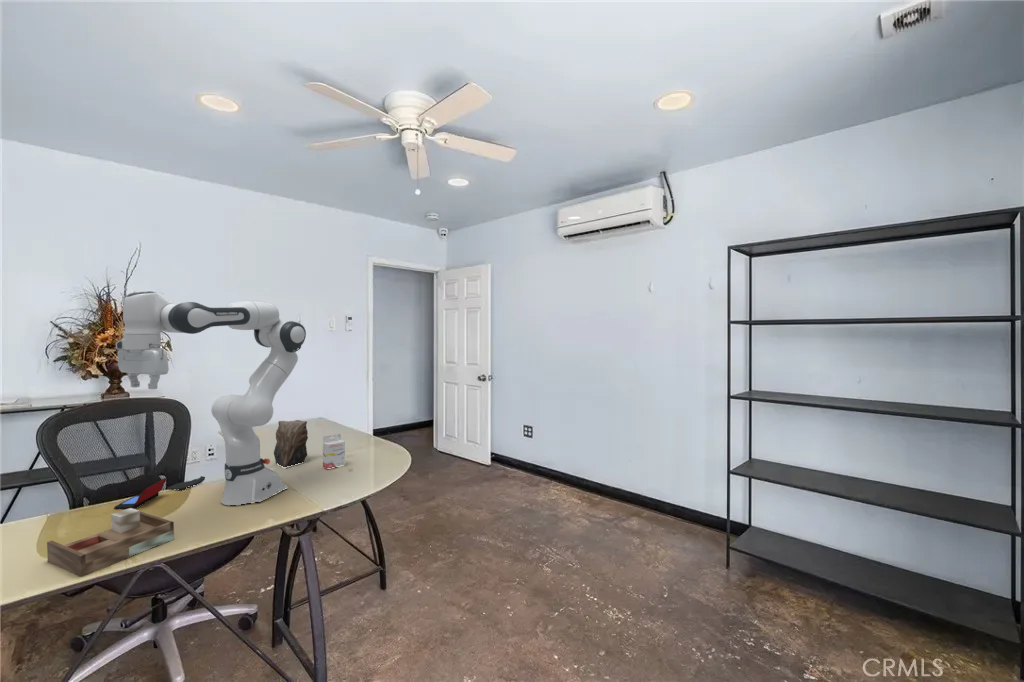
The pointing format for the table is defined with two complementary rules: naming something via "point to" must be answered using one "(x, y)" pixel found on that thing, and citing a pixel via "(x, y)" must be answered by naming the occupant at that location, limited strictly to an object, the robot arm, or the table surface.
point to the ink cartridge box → (333, 451)
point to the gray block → (125, 520)
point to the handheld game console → (142, 496)
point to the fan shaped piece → (186, 484)
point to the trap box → (110, 546)
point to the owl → (291, 442)
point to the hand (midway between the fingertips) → (144, 388)
